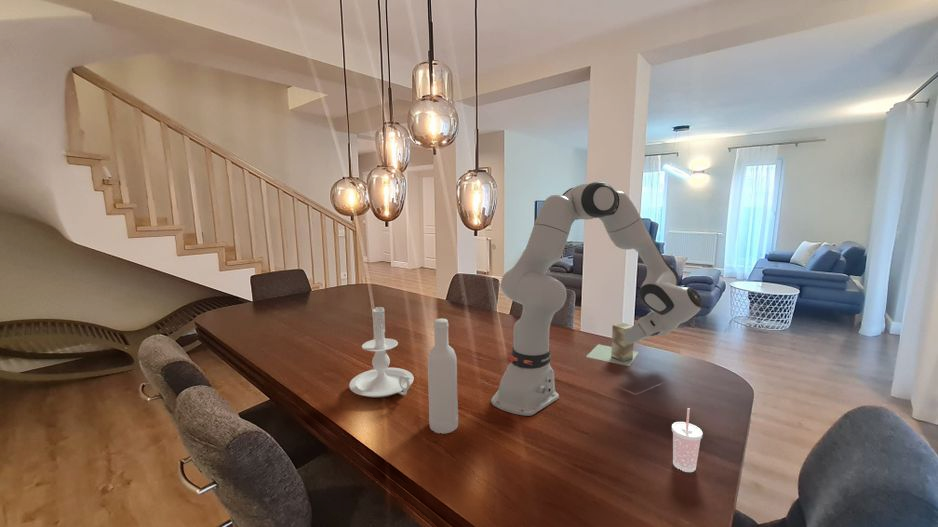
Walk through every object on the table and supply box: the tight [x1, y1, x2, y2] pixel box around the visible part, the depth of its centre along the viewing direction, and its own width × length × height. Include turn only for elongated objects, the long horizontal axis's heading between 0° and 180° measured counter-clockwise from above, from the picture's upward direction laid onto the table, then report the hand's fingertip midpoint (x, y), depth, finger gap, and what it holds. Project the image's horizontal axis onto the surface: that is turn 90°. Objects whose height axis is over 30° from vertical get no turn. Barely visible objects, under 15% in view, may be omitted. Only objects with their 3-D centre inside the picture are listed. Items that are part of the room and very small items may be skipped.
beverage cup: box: [671, 407, 704, 473], centre depth 87 cm, size 6×6×14 cm
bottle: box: [426, 318, 459, 435], centre depth 103 cm, size 8×8×30 cm
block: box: [611, 322, 635, 362], centre depth 147 cm, size 6×6×13 cm
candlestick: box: [348, 306, 415, 398], centre depth 124 cm, size 21×25×28 cm
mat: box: [585, 343, 639, 367], centre depth 152 cm, size 16×16×1 cm
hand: (633, 340), depth 143 cm, fingers closed
